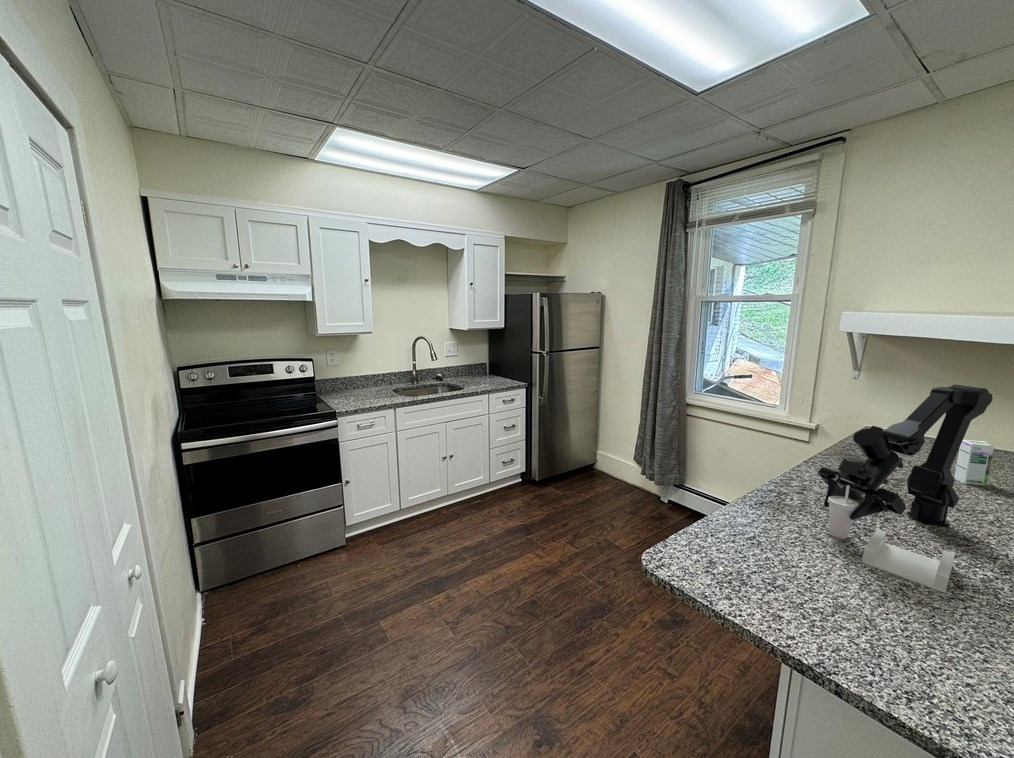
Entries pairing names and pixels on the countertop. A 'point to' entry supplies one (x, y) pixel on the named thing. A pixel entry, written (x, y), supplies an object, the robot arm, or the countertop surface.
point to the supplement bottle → (852, 493)
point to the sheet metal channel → (908, 563)
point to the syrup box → (974, 462)
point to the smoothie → (841, 515)
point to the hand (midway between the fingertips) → (837, 512)
